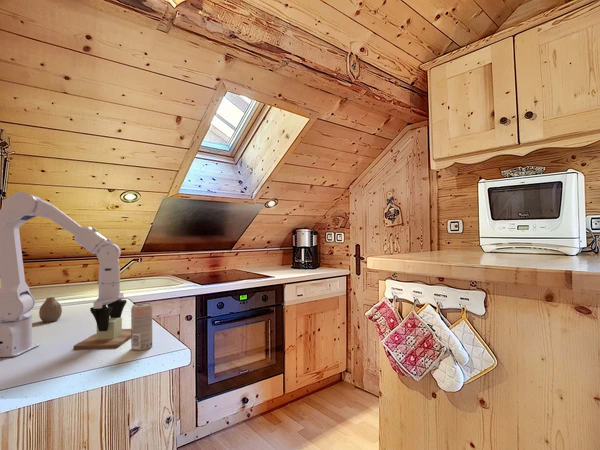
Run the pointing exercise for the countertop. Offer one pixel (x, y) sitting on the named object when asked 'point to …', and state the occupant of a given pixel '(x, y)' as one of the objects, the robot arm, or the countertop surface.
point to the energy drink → (141, 326)
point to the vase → (50, 310)
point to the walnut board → (104, 341)
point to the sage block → (111, 329)
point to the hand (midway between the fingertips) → (109, 327)
